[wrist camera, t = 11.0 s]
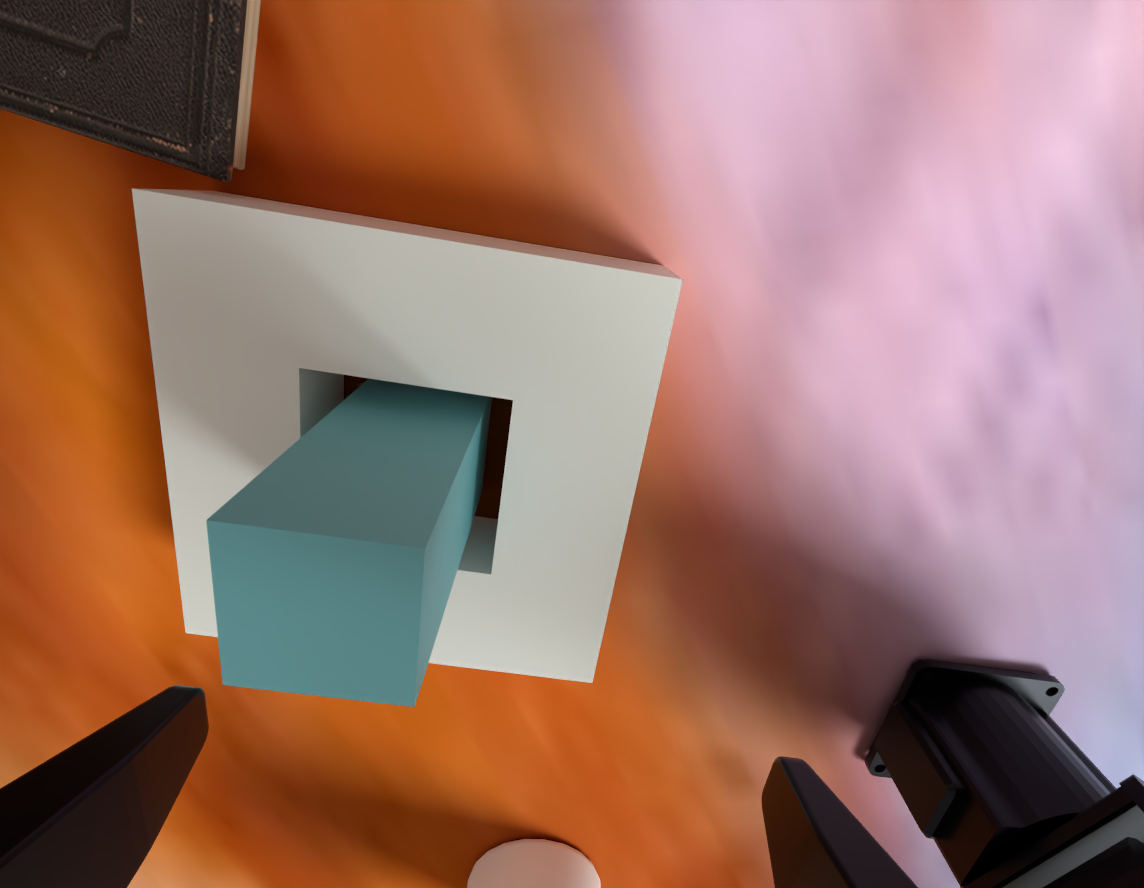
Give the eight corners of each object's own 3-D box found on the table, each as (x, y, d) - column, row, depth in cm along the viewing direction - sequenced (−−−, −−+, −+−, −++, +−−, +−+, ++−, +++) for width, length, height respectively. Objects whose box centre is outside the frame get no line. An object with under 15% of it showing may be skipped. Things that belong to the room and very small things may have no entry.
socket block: (663, 265, 19) (682, 279, 15) (589, 617, 24) (592, 683, 21) (212, 190, 18) (131, 188, 14) (240, 572, 23) (185, 633, 20)
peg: (493, 388, 20) (424, 548, 11) (482, 491, 22) (414, 706, 12) (376, 372, 20) (206, 520, 11) (373, 476, 21) (222, 684, 12)
